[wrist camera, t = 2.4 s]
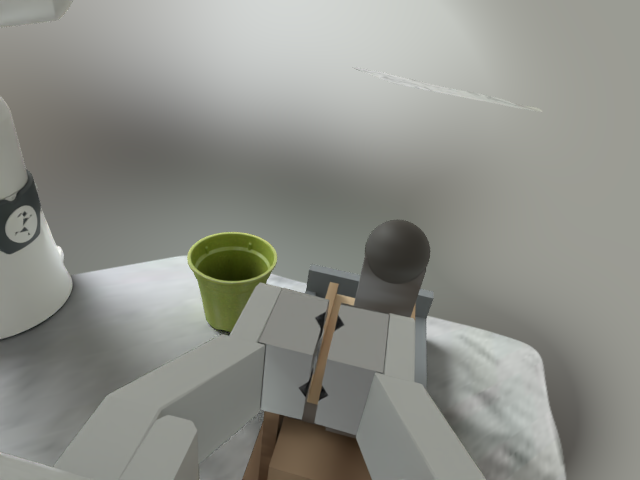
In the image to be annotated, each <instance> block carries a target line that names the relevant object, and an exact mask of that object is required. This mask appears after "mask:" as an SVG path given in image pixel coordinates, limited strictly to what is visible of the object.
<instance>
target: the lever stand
mask: <svg viewBox="0 0 640 480" xmlns="http://www.w3.org/2000/svg"><path fill="white" fill-rule="evenodd" d="M325 429H326V427H323V426H319V425H315V424H312V423H308V422H304V421H300V420H297V419H293V418H289V417H286V416H284V415H280V414H276V413H271V412H267V411H265V412H264V421H263V423H262V426H261V429H260V431H259V434H258V437H257V440H256V443H255V445H254V448H253V451H252V454H251V457H250V459H249V462H248V465H247V468H246V471H245V473H244V476H243V479H242V480H372V479H371V476H370V473H369V471H368V468H367V465H366V463H365V460H364V458H363V455H362V452H361V450H360V447H359V444H358V442H357V439H356V438H352V437H348V436H344V435H341V434H337V433H333V432H329V431H326V430H325Z"/></svg>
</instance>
